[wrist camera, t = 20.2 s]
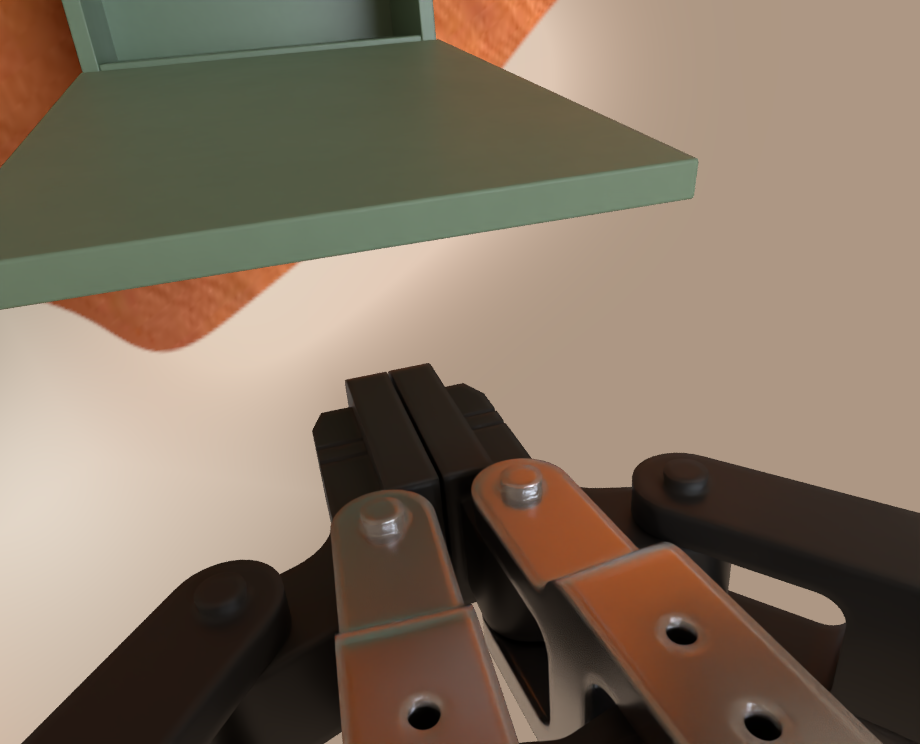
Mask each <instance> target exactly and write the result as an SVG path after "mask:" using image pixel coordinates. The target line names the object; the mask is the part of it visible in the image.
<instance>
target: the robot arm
mask: <svg viewBox="0 0 920 744" xmlns="http://www.w3.org/2000/svg"><path fill="white" fill-rule="evenodd" d="M345 386H346V393H347V398H348V405H349V407H348V408H344V409H339V410H334V411H329V412H324V413H321V415H320V417H319V418H318V420H317V422H316V424H315V426H314V428H313V431H312V432H313V437H314V442H315V447H316V451H317V457H318V462H319V467H320V472H321V477H322V481H323V487H324V492H325V497H326V502H327V506H328V511H329V515H330V520H331V530H330V535H329V537H328V539H327V540H326V542H325V543H324V544H323V546H322V547H321V548H320V549H319V550H318V551H317V552H316V553H315V554H314V555H312V556H311V557H310V558H308V559H307V560H305V561H304V562H302V563H300V564H299V565H297V566H295V567H293V568H292V569H289V570H287V571H285V572H283V573H281V574H279V573H278V572H277V571H276V570H275V569H274V568H273V567H271V566H269V565H268V564H265V563H262V562H259V561H253V560H235V561H228V562H224V563H220V564H217V565H214V566H211V567H209V568H206V569H204V570H202V571H200V572H198V573H196V574H194V575H193V576H191V577H190V578H188V579H187V580H185V581H184V582H183V583H182V584H181V585H180V586H178V587H177V588H176V589H175V590H174V591H173V592H172V593H171V594H170V595H169V596H168V597H167V598H166V599H165V600H164V601H163V602H162V603H161V604H160V605H159V606H158V607H157V608H156V609H155V610H154V611H153V612H152V613H151V614H150V615H149V616H148V617H147V618H146V619H145V620H144V621H143V622H142V623H141V624H140V625H139V626H138V627H137V628H136V629H135V630H134V631H133V632H132V633H131V634H130V635H129V636H128V637H127V638H126V639H125V640H124V641H123V642H122V643H121V644H120V645H119V646H118V647H117V648H116V649H115V650H114V651H113V652H112V653H111V654H110V655H109V656H108V658H106V659H105V660H104V661H103V662H102V663H101V664H100V665H99V666H98V667H97V669H95V670H94V671H93V672H92V673H91V674H90V675H89V676H88V677H87V678H86V679H85V680H84V681H83V682H82V683H81V684H80V686H79V687H77V688H76V689H75V690H74V691H73V692H72V693H71V695H70V696H68V697H67V698H66V700H64V701H63V702H62V703H61V704H60V705H59V707H57V708H56V709H55V710H54V711H53V712H52V713H51V714H50V715H49V717H47V719H46V720H44V721H43V723H42V724H40V725H39V726H38V727H37V728H36V729H35V730H34V732H33V733H31V735H30V736H29V737H27V738H26V739H25V741H24V742H22V743H21V744H324V743H326V742H327V741H329V740H330V739H331V738H333V737H334V736H336V735H338V734H339V733H341V732H342V739H343V744H920V513H917V512H913V511H909V510H906V509H902V508H898V507H894V506H890V505H887V504H882V503H879V502H875V501H871V500H868V499H864V498H860V497H856V496H852V495H848V494H845V493H841V492H837V491H833V490H829V489H826V488H822V487H818V486H814V485H810V484H807V483H803V482H799V481H795V480H791V479H788V478H784V477H780V476H776V475H772V474H768V473H765V472H761V471H757V470H753V469H749V468H746V467H742V466H738V465H734V464H730V463H727V462H722V461H718V460H715V459H711V458H708V457H704V456H699V455H695V454H687V453H667V454H661V455H657V456H653V457H651V458H648V459H646V460H644V461H643V462H641V463H640V464H639V465H638V466H637V467H636V468H635V470H634V472H633V476H632V487H621V488H583V487H579V486H578V485H577V484H576V483H575V482H574V481H573V480H572V479H571V478H570V476H569V475H568V474H566V473H565V472H564V471H563V470H562V469H561V468H559V467H557V466H556V465H554V464H551V463H549V462H546V461H542V460H536V459H532V458H531V457H530V456H529V454H528V453H527V451H526V450H525V449H524V447H523V446H522V445H521V443H520V442H519V441H518V439H517V438H516V437H515V435H514V434H513V432H512V431H511V430H510V429H509V427H508V426H507V425H506V424H505V423H504V422H503V419H502V418H501V416H500V415H499V413H498V412H497V411H495V409H494V407H493V405H492V404H491V403H490V401H489V400H488V399H487V397H486V396H485V394H484V393H482V392H480V391H478V390H475V389H474V388H472V387H470V386H468V385H466V384H464V383H462V384H457V385H453V386H447V387H445V386H444V385H443V383H442V382H441V380H440V378H439V377H438V375H437V374H436V372H435V371H434V369H433V367H432V366H431V365H430V364H429V363H426V364H422V365H417V366H411V367H407V368H401V369H396V370H391V371H389V372H388V374H387V372H382V373H377V374H373V375H367V376H362V377H358V378H352V379H347V380H345ZM731 564H734V565H737V566H740V567H743V568H746V569H749V570H752V571H755V572H758V573H761V574H764V575H767V576H769V577H772V578H775V579H778V580H781V581H784V582H787V583H790V584H793V585H796V586H799V587H802V588H805V589H808V590H811V591H814V592H817V593H819V594H822V595H824V596H825V597H827V598H829V599H830V600H832V601H833V602H834V603H835V604H836V605H837V606H838V607H839V608H840V609H841V611H842V612H843V614H844V617H845V619H846V623H844V624H841V625H834V626H833V625H824V624H821V623H818V622H815V621H812V620H809V619H806V618H804V617H801V616H798V615H795V614H793V613H790V612H787V611H784V610H781V609H779V608H776V607H773V606H770V605H767V604H765V603H762V602H759V601H756V600H754V599H751V598H748V597H745V596H743V595H740V594H737V593H734V592H731V591H729V590H728V586H729V578H730V568H731ZM474 602H477V603H478V606H479V608H480V610H481V612H482V617H483V628H484V635H483V632H482V630H481V626H480V623H479V620H478V617H477V615H476V612H475V610H474V607H473V606H472V604H471V603H474ZM489 652H490V653H489ZM490 654H491V655H492V657H493V659H494V661H495V663H496V665H497V666H498V668H499V670H500V672H501V674H502V676H503V677H504V679H505V681H506V683H507V685H508V687H509V688H510V690H511V692H512V694H513V696H514V697H515V699H516V701H517V703H518V705H519V707H520V709H521V710H522V712H523V714H524V716H525V718H526V719H527V721H528V723H529V725H530V727H531V729H532V731H533V733H534V734H535V736H536V738H537V740H538V741H537V742H524V743H519V742H518V739H517V736H516V733H515V729H514V726H513V724H512V720H511V718H510V715H509V711H508V709H507V705H506V702H505V699H504V696H503V693H502V690H501V687H500V684H499V681H498V678H497V675H496V672H495V669H494V666H493V663H492V660H491V657H490Z"/></svg>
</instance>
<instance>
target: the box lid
mask: <svg viewBox="0 0 920 744" xmlns="http://www.w3.org/2000/svg"><path fill="white" fill-rule="evenodd" d="M697 168H698V159H697V158H695V157H693V156H691V155H688V154H686V153H684V152H682V151H680V150H677V149H675V148H673V147H671V146H669V145H667V144H665V143H662V142H660V141H658V140H656V139H653V138H651V137H649V136H647V135H645V134H643V133H641V132H639V131H636V130H634V129H632V128H630V127H627V126H625V125H623V124H621V123H619V122H617V121H615V120H613V119H610V118H608V117H606V116H604V115H602V114H599V113H597V112H595V111H593V110H591V109H589V108H586V107H584V106H582V105H580V104H578V103H576V102H573V101H571V100H569V99H567V98H565V97H563V96H560V95H558V94H556V93H554V92H552V91H550V90H547V89H545V88H543V87H541V86H538V85H536V84H534V83H532V82H530V81H528V80H526V79H524V78H521V77H519V76H517V75H515V74H513V73H510V72H508V71H506V70H504V69H502V68H500V67H498V66H495V65H493V64H491V63H489V62H487V61H485V60H482V59H480V58H478V57H476V56H474V55H472V54H469V53H467V52H465V51H463V50H461V49H459V48H456V47H454V46H452V45H450V44H448V43H445V42H443V41H441V40H439V39H437V40H426V41H415V42H405V43H394V44H384V45H373V46H362V47H352V48H341V49H330V50H320V51H309V52H299V53H288V54H277V55H267V56H256V57H246V58H235V59H224V60H214V61H203V62H193V63H182V64H171V65H161V66H150V67H139V68H129V69H118V70H108V71H97V72H86V73H81V74H80V75H79V76H78V77H77V78H76V79H75V81H74V82H73V83H72V84H71V85H70V86H69V88H68V89H67V90H66V91H65V92H64V93H63V95H62V96H61V97H60V98H59V99H58V101H57V102H56V103H55V104H54V105H53V106H52V108H51V109H50V110H49V111H48V112H47V114H46V115H45V116H44V117H43V118H42V119H41V121H40V122H39V123H38V124H37V125H36V126H35V128H34V129H33V130H32V131H31V132H30V134H29V135H28V136H27V137H26V138H25V139H24V141H23V142H22V143H21V144H20V145H19V147H18V148H17V149H16V150H15V151H14V152H13V154H12V155H11V156H10V157H9V158H8V160H7V161H6V162H5V163H4V164H3V165H2V167H1V168H0V310H1V309H8V308H14V307H20V306H27V305H33V304H38V303H45V302H52V301H58V300H64V299H70V298H76V297H83V296H89V295H95V294H101V293H108V292H114V291H120V290H126V289H133V288H139V287H145V286H151V285H157V284H164V283H170V282H176V281H182V280H189V279H195V278H201V277H207V276H213V275H220V274H226V273H232V272H238V271H245V270H251V269H257V268H263V267H269V266H276V265H282V264H288V263H294V262H301V261H306V260H313V259H319V258H325V257H332V256H337V255H344V254H350V253H357V252H363V251H369V250H375V249H381V248H387V247H393V246H400V245H406V244H413V243H419V242H425V241H431V240H437V239H444V238H450V237H456V236H462V235H469V234H474V233H480V232H487V231H493V230H500V229H506V228H512V227H518V226H525V225H531V224H536V223H543V222H549V221H556V220H562V219H568V218H574V217H580V216H586V215H593V214H599V213H605V212H612V211H618V210H624V209H630V208H636V207H643V206H649V205H654V204H661V203H668V202H674V201H680V200H686V199H691V198H693V196H694V191H695V183H696V176H697Z"/></svg>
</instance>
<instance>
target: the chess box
mask: <svg viewBox="0 0 920 744" xmlns="http://www.w3.org/2000/svg"><path fill="white" fill-rule="evenodd" d="M61 1H62V4H63V8H64V11H65V14H66V18H67V21H68V25H69V28H70V31H71V35H72V38H73V42H74V45H75V49H76V52H77V55H78V59H79V62H80V66H81V69H82V72H83V73H86V72H97V71H108V70H118V69H129V68H139V67H150V66H161V65H171V64H182V63H193V62H203V61H214V60H224V59H235V58H246V57H256V56H267V55H277V54H288V53H299V52H309V51H320V50H330V49H341V48H352V47H362V46H373V45H384V44H394V43H405V42H415V41H426V40H436V33H435V21H434V10H433V0H61Z"/></svg>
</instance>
